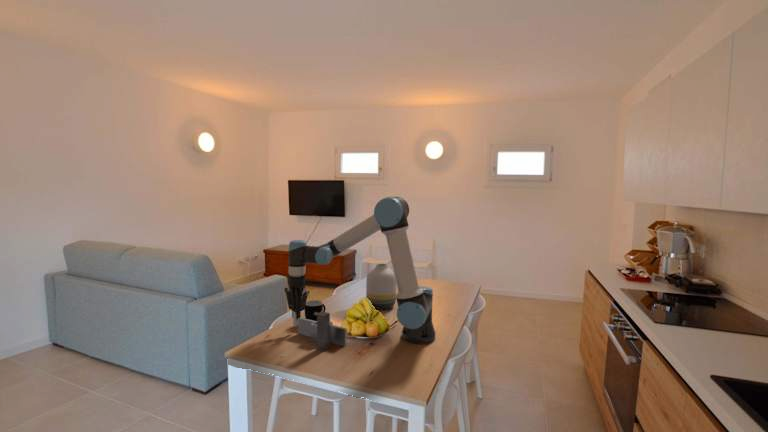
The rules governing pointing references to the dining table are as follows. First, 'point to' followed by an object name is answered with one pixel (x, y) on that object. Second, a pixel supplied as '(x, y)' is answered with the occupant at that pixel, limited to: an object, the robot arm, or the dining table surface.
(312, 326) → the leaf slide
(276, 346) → the dining table surface
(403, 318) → the robot arm
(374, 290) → the vase
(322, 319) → the pin
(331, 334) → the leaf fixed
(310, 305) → the mug
